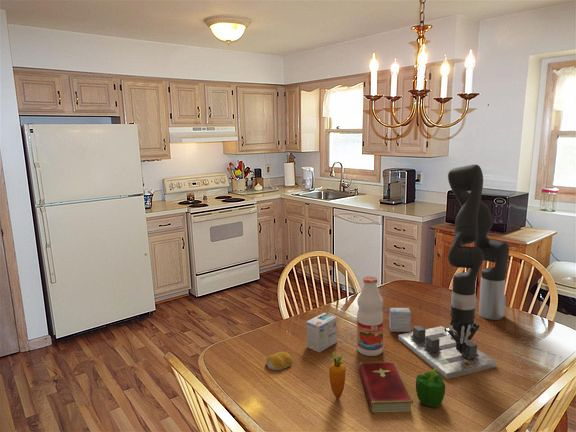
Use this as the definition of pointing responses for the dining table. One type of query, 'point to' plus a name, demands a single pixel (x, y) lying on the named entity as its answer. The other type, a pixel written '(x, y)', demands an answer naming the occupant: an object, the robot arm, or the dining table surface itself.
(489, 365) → the switch panel
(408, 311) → the medicine box
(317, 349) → the light bulb box
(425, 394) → the bell pepper
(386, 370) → the hardcover book
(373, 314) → the fruit juice
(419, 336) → the lever right
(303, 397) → the dining table surface
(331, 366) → the carrot
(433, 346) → the lever middle
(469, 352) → the lever
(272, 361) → the bread roll
